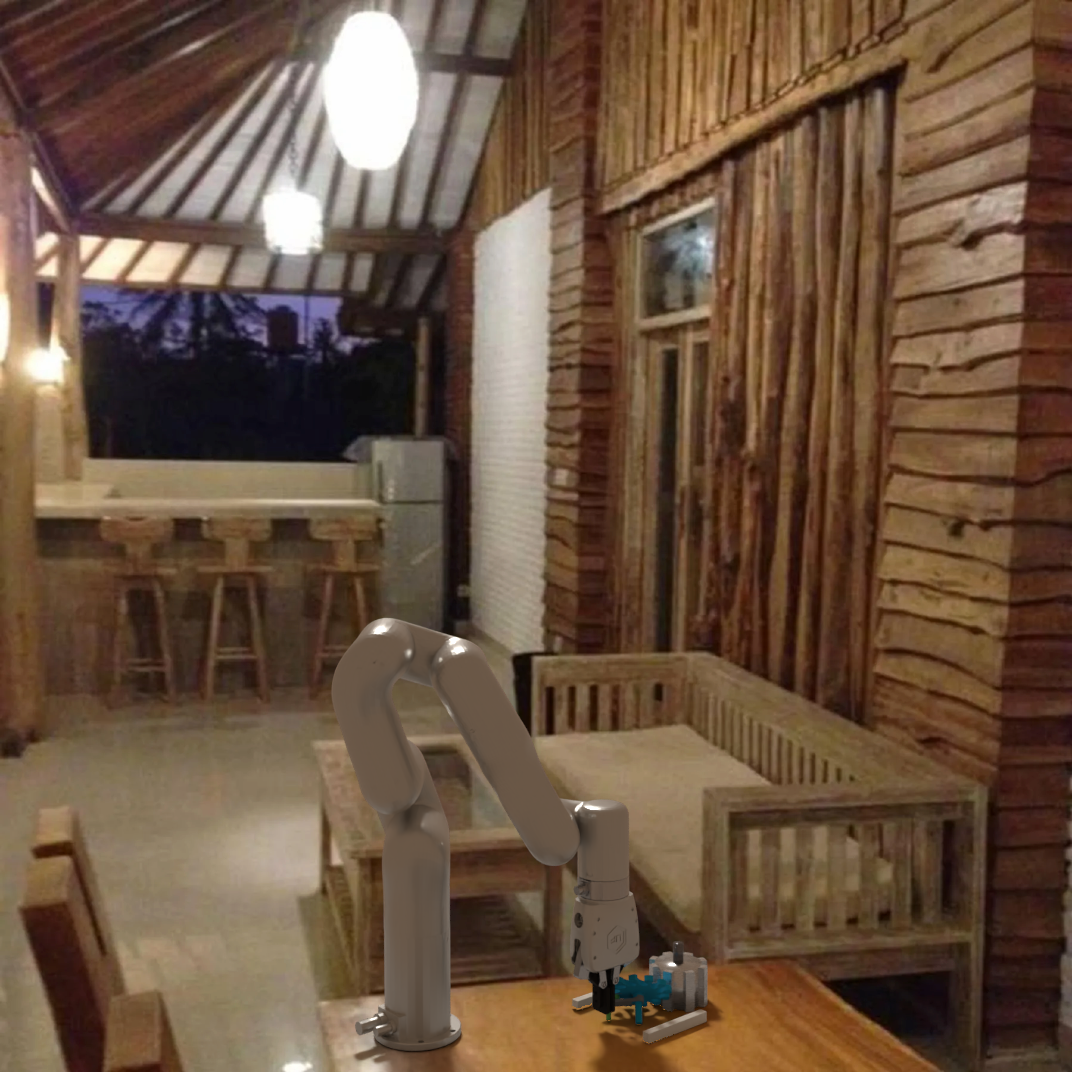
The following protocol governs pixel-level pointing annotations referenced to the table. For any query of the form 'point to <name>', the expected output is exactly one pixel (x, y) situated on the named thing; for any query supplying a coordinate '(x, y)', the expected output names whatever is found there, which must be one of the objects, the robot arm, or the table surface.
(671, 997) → the sun gear
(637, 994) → the gear
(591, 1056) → the table surface
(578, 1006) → the guide rails
